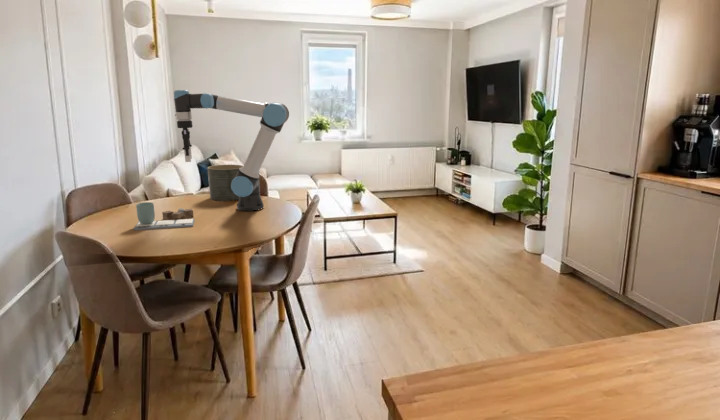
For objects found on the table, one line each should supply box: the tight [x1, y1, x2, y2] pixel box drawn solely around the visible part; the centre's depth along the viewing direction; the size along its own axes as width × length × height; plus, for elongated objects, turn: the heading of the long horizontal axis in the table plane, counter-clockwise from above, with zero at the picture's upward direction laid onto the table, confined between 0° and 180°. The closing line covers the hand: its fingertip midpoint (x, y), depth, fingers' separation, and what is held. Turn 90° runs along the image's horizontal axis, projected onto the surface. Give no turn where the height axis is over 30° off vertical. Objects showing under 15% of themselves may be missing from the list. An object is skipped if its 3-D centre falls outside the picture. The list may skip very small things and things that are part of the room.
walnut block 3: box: [183, 208, 194, 219], centre depth 245 cm, size 4×4×4 cm
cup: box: [135, 201, 156, 224], centre depth 226 cm, size 8×8×10 cm
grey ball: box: [177, 208, 185, 216], centre depth 248 cm, size 4×4×4 cm
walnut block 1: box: [161, 210, 175, 221], centre depth 241 cm, size 4×4×4 cm
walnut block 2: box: [171, 211, 184, 220], centre depth 238 cm, size 4×4×4 cm
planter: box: [207, 164, 244, 202], centre depth 291 cm, size 22×22×20 cm
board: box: [133, 218, 195, 231], centre depth 229 cm, size 27×12×1 cm, turn 106°
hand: (188, 160), depth 245 cm, fingers open, 13 cm apart
